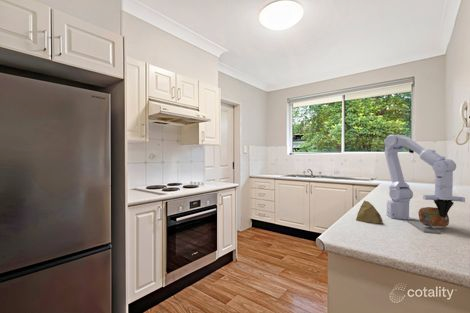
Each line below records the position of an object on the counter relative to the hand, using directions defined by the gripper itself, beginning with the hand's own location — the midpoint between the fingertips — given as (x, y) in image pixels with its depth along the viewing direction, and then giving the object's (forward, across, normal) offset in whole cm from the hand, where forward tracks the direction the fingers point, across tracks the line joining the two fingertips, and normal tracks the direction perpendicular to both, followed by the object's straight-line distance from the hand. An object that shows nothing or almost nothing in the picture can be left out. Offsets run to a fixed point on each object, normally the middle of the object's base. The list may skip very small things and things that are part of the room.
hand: (443, 216), depth 102 cm
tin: (+5, -3, 0) cm, 6 cm away
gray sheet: (+6, -8, 0) cm, 9 cm away
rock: (+6, -29, +2) cm, 29 cm away
